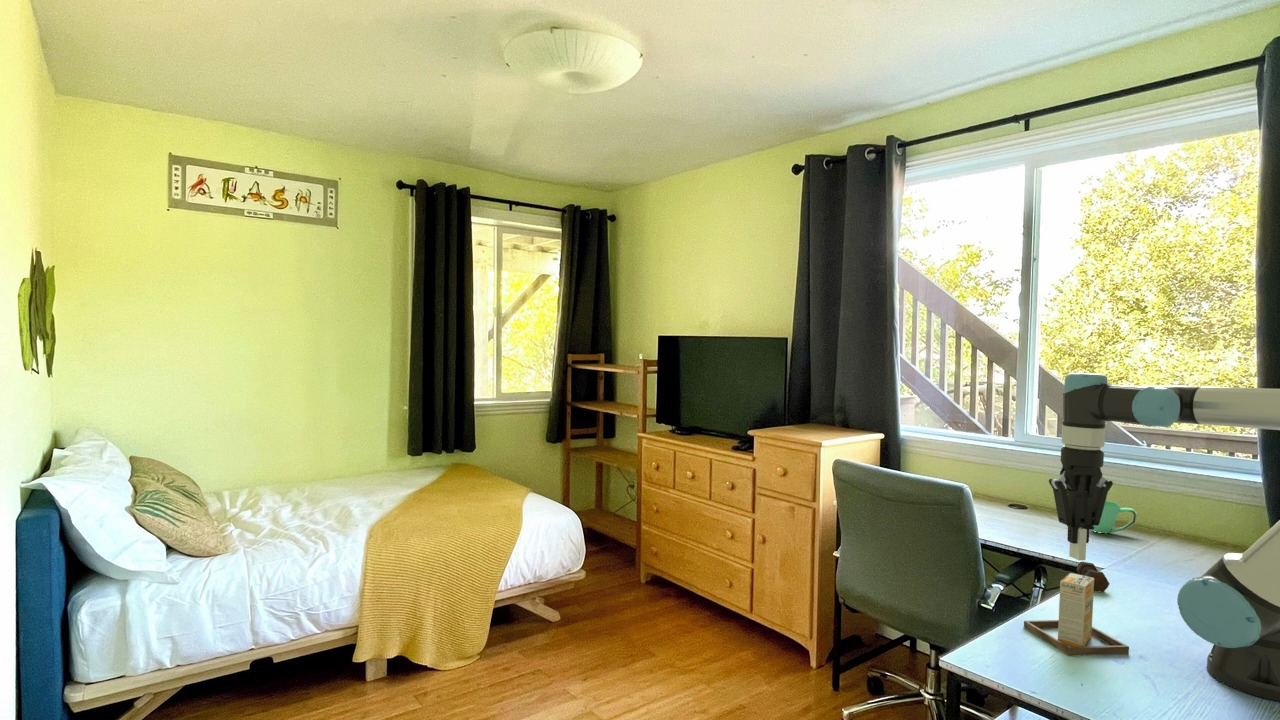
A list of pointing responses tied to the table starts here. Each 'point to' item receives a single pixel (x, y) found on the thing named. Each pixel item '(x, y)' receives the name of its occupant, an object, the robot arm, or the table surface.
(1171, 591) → the table surface
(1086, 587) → the supplement box
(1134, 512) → the mug
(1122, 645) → the frame
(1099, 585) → the bolt
